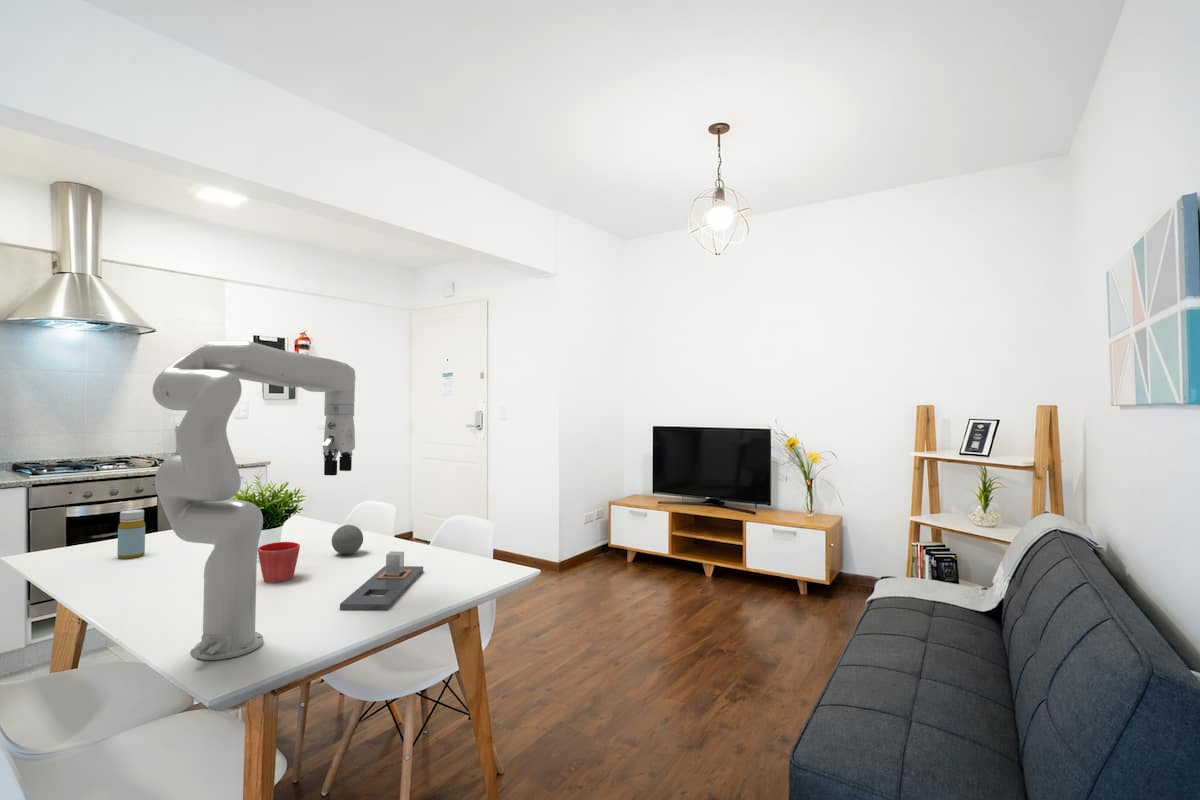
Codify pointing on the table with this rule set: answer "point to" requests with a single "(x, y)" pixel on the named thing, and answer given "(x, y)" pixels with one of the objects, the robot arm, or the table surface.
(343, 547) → the decorative ball
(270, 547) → the flower pot
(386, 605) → the grey board with holes
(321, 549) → the table surface
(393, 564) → the steel rectangular block
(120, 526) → the bottle
